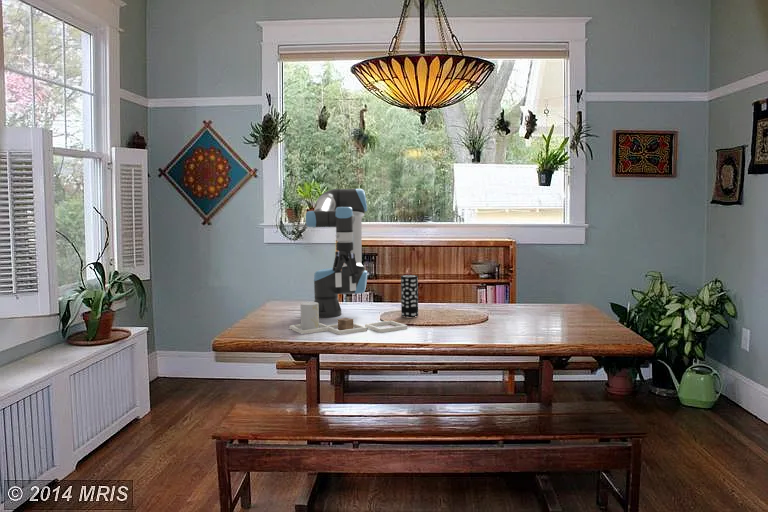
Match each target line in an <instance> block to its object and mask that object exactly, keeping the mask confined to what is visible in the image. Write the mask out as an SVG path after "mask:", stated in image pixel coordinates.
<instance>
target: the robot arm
mask: <svg viewBox="0 0 768 512" xmlns="http://www.w3.org/2000/svg"><path fill="white" fill-rule="evenodd" d="M367 211H368V204H367V197H366V193H365V190H364V189H363V188H333V189H330V190H327V191H325V192H323V193H322V194H320V196H319V197H318V198H317V200H316V206H315V208H314V210H307V211H306V213H305V224H306V226H307V228H315V229H316V228H335V232H336V233H335V237H336V238H335V240H336V244H335V247H336V248H335V249H336V251H335V252H334V253H335V254H334V260H333V266H332V267H328V268H323V269H318V270H316V271H315V272H314V275H313V283H314V284H313V287H314V289H313V290H314V301H313V302H317V303H318V304H319V318H333V317H339V316H341V315H342V314H343V313H342V308H341V305H340V302H339V296H338V295H357V294H361V295H362V294H364V293H365V291H366V287H367V282H368V270H366V269H365V265H363V264H362V261H363V259H362V257H363V255H362V250H363V248H362V243H363V242H362V241H363V240H362V233H363V232H362V229H363V228H362V218H363V217H365V212H367Z"/></svg>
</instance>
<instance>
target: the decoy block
mask: <svg viewBox="0 0 768 512" xmlns="http://www.w3.org/2000/svg"><path fill="white" fill-rule="evenodd" d="M353 323H354V318H350V317H343V318H339V319H337V324H338V328H337V330H347V329H355V327H354V324H353Z"/></svg>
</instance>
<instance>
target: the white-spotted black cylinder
mask: <svg viewBox="0 0 768 512" xmlns="http://www.w3.org/2000/svg"><path fill="white" fill-rule="evenodd" d="M400 299H401V303H400V306H401V307H400V309H401V310H400V311H401V312H400V313H401V317H402V316H405V317H415V316H418V317H419V276H418V275H416V274H415V275H414V274H405V275H401V276H400ZM415 318H416V317H415Z"/></svg>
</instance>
